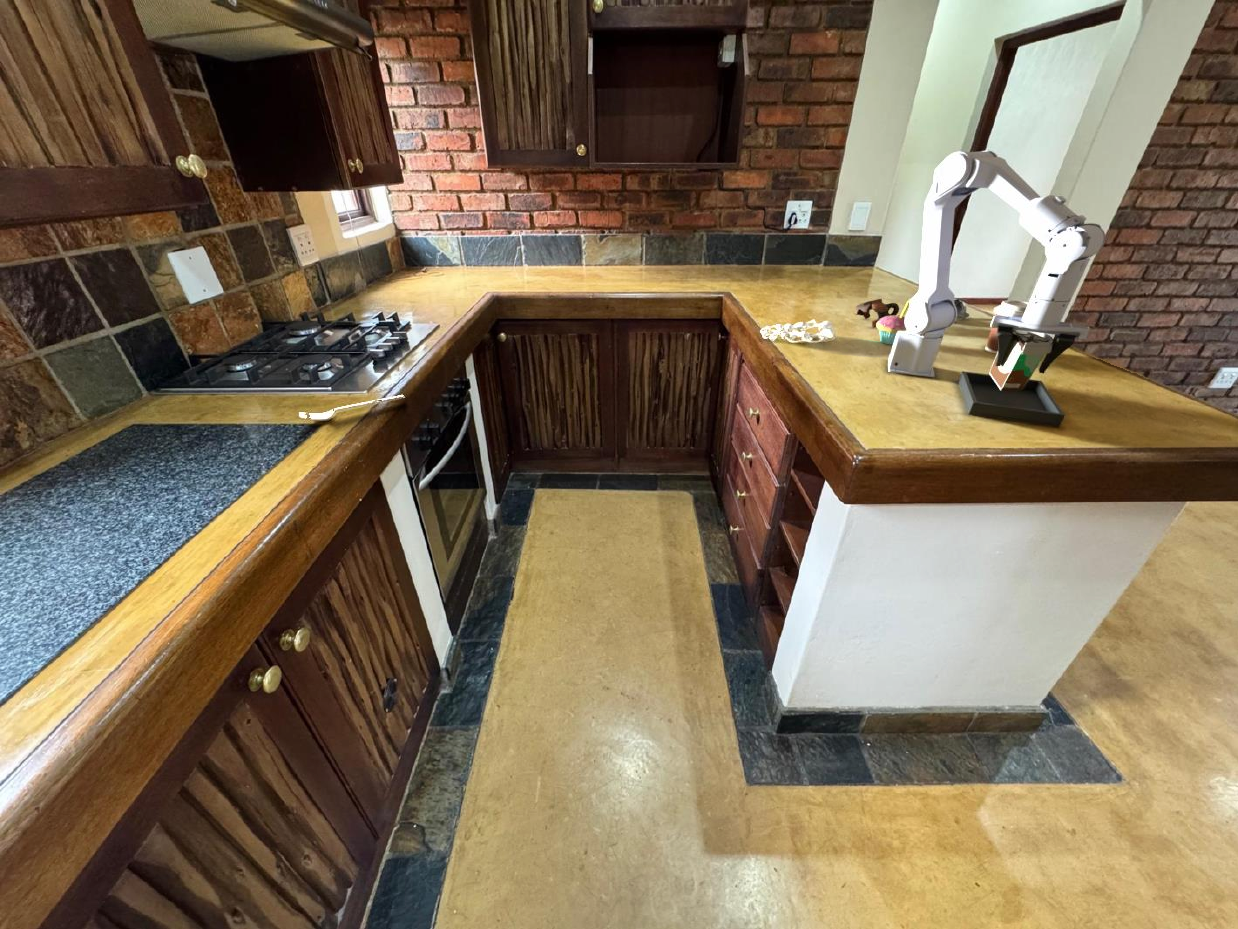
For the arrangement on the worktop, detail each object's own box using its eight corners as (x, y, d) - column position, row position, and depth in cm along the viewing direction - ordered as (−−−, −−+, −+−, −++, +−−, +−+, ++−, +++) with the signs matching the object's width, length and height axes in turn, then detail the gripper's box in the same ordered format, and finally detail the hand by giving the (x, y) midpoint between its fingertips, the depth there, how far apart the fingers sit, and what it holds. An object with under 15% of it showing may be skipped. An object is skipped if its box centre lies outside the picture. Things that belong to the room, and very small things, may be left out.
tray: (968, 414, 96) (973, 402, 95) (957, 381, 110) (961, 371, 108) (1059, 427, 91) (1065, 415, 90) (1036, 391, 104) (1041, 380, 103)
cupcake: (908, 340, 134) (922, 295, 128) (904, 349, 128) (919, 302, 122) (874, 335, 138) (886, 291, 132) (869, 343, 132) (881, 298, 126)
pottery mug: (863, 330, 143) (858, 302, 143) (853, 335, 152) (848, 309, 152) (906, 320, 141) (901, 291, 140) (893, 325, 150) (888, 299, 150)
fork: (406, 401, 106) (404, 393, 105) (302, 425, 97) (299, 417, 96) (403, 396, 108) (401, 388, 107) (301, 419, 99) (298, 411, 98)
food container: (1040, 398, 92) (1067, 347, 87) (1002, 393, 94) (1027, 343, 89) (1020, 374, 102) (1044, 327, 97) (987, 370, 104) (1008, 324, 98)
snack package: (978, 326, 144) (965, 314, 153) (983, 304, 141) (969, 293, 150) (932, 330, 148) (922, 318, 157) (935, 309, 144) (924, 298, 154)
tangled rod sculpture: (758, 348, 134) (760, 334, 131) (761, 328, 145) (763, 315, 142) (834, 352, 129) (837, 337, 126) (831, 331, 140) (834, 317, 137)
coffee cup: (1004, 344, 130) (1024, 298, 123) (1030, 356, 122) (1052, 307, 116) (971, 345, 130) (989, 299, 123) (994, 357, 122) (1014, 308, 116)
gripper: (1099, 297, 88) (1063, 368, 96) (1003, 288, 95) (976, 355, 103) (1105, 306, 83) (1067, 380, 91) (1003, 296, 90) (975, 366, 98)
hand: (1019, 368), depth 96 cm, fingers closed on food container, 6 cm apart
